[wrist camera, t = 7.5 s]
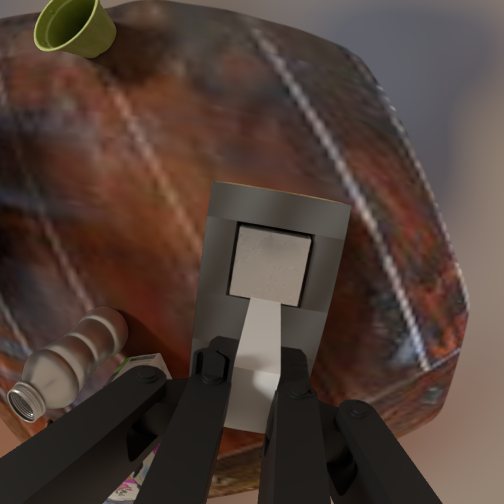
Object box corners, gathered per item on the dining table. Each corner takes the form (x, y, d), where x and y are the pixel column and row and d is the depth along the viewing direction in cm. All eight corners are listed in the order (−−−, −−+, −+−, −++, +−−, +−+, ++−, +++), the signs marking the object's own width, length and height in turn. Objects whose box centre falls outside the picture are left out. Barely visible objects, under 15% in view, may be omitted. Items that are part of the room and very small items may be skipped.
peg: (239, 272, 36) (229, 294, 28) (248, 218, 34) (240, 226, 27) (293, 281, 35) (297, 306, 28) (304, 227, 34) (311, 239, 27)
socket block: (201, 374, 40) (186, 411, 32) (227, 182, 35) (212, 181, 27) (291, 390, 40) (292, 430, 32) (335, 201, 34) (351, 205, 27)
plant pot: (140, 12, 31) (111, -18, 23) (110, 73, 33) (73, 52, 25) (88, 10, 31) (56, -14, 23) (61, 66, 33) (22, 50, 25)
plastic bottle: (142, 336, 40) (61, 432, 20) (108, 351, 41) (26, 437, 21) (117, 293, 39) (16, 369, 19) (84, 312, 40) (-13, 383, 20)
